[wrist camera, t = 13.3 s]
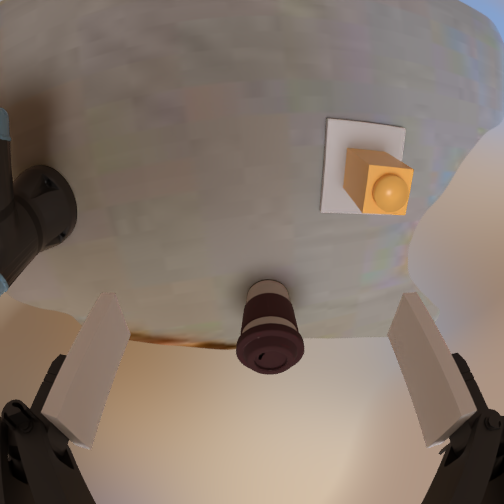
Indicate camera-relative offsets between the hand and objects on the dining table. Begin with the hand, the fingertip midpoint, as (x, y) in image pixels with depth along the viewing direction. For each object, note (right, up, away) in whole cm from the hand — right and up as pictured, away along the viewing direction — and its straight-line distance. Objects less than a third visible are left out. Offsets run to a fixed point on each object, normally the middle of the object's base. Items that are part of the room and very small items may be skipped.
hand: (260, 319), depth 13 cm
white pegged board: (+16, +15, +28) cm, 35 cm away
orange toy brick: (+16, +15, +27) cm, 34 cm away
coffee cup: (+2, -5, +40) cm, 41 cm away
